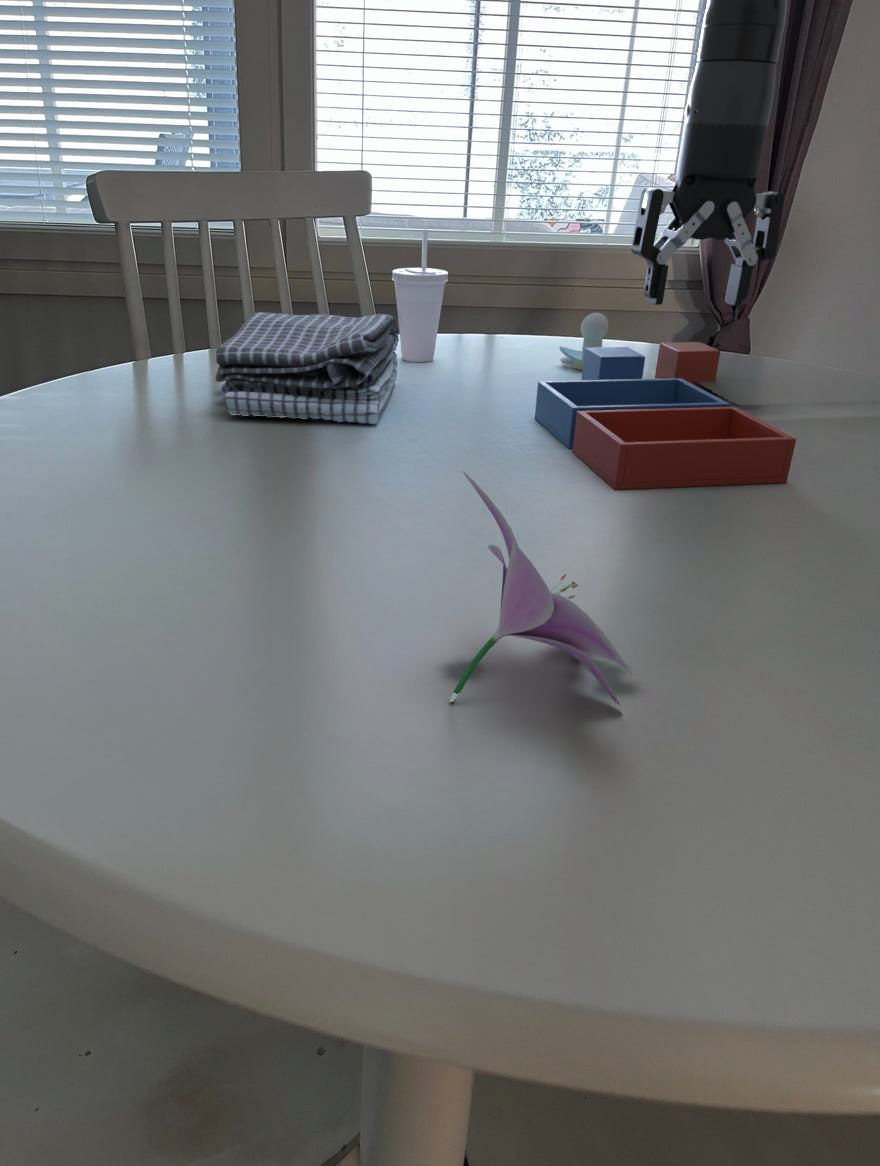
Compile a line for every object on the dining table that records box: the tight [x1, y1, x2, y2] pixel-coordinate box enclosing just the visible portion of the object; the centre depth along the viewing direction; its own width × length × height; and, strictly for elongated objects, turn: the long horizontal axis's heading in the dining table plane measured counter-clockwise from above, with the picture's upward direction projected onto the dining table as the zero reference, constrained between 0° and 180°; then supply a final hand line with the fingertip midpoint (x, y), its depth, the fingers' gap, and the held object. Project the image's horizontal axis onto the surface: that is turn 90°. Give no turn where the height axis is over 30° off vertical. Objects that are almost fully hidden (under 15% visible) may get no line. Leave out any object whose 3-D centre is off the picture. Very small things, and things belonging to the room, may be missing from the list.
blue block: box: [581, 346, 646, 380], centre depth 94 cm, size 5×5×5 cm
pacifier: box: [559, 312, 609, 371], centre depth 107 cm, size 7×6×6 cm
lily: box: [452, 471, 632, 706], centre depth 43 cm, size 12×12×10 cm
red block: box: [654, 341, 721, 395], centre depth 98 cm, size 5×5×5 cm
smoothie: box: [391, 229, 449, 363], centre depth 107 cm, size 6×6×14 cm
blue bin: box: [534, 378, 731, 450], centre depth 84 cm, size 14×10×4 cm
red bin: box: [571, 406, 797, 491], centre depth 75 cm, size 14×10×4 cm
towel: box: [214, 311, 400, 425], centre depth 90 cm, size 15×18×8 cm
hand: (693, 304), depth 94 cm, fingers open, 8 cm apart
